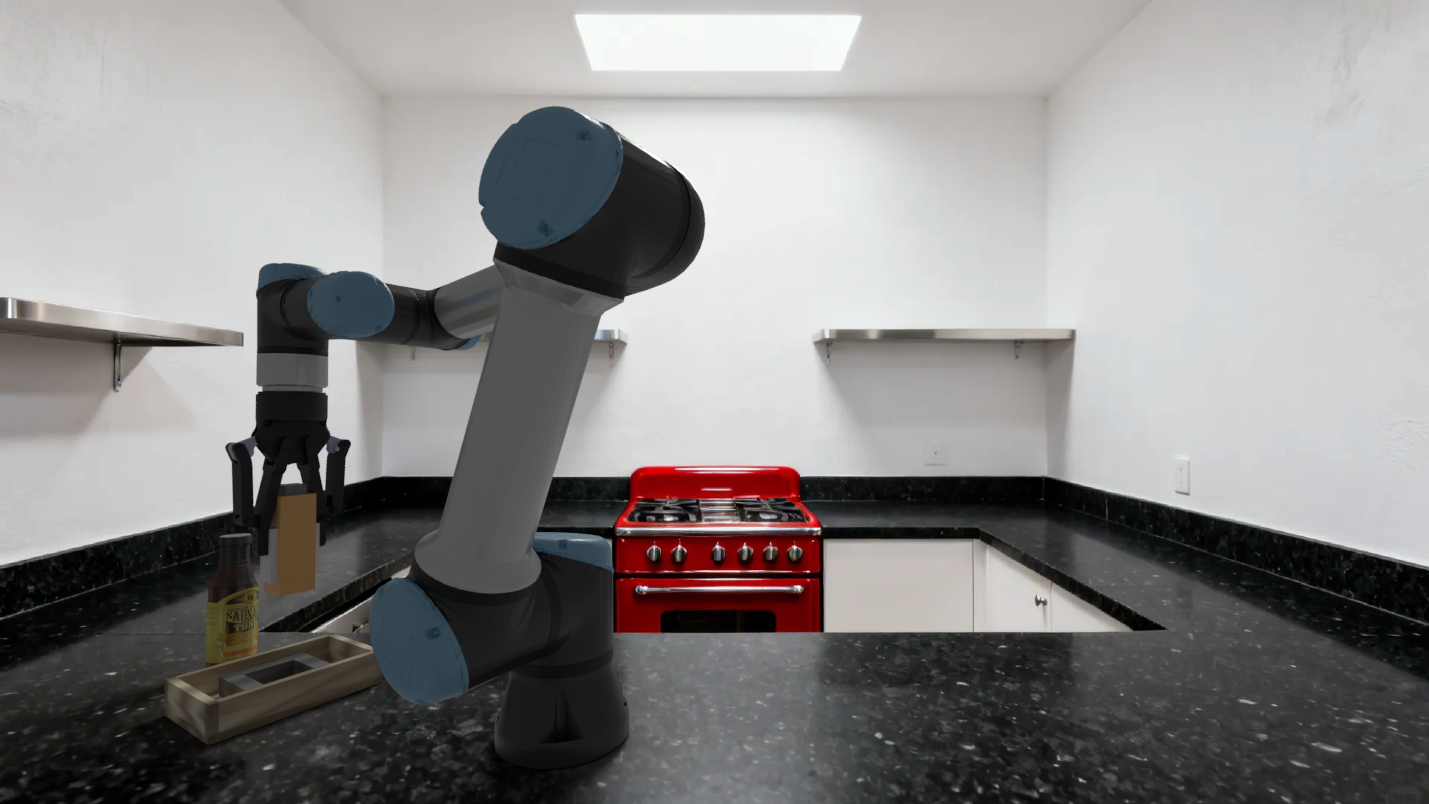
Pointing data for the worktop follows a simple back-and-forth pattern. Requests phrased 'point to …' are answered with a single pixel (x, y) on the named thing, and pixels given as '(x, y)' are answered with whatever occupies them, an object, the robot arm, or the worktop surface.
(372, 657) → the walled box
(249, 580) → the sauce bottle
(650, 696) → the worktop surface
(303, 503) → the tan tall block
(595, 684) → the robot arm
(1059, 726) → the worktop surface
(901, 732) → the worktop surface
